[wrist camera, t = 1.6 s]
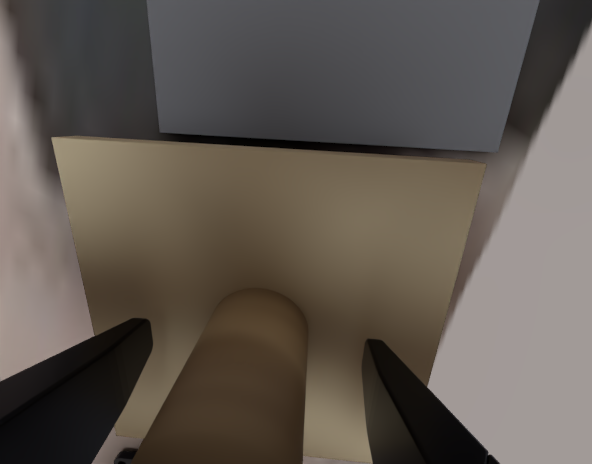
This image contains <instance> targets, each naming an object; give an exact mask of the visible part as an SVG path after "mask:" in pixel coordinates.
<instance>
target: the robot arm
mask: <svg viewBox="0 0 592 464" xmlns="http://www.w3.org/2000/svg"><path fill="white" fill-rule="evenodd" d="M152 349H153V337H152V330H151V323H150V321H149V320H148V319H146V318H131V319H129V320H127V321H125V322H123V323H121V324H119V325H117V326H115V327H113V328H111V329H108V330H106V331H104V332H102V333H100V334H98V335H96V336H94V337H92V338H90V339H88V340H86V341H84V342H81V343H79V344H77V345H75V346H73V347H71V348H69V349H67V350H65V351H63V352H61V353H59V354H57V355H54V356H52V357H50V358H48V359H46V360H44V361H42V362H40V363H38V364H36V365H34V366H32V367H30V368H27V369H25V370H23V371H21V372H19V373H17V374H15V375H13V376H11V377H9V378H7V379H5V380H3V381H0V464H92V462H93V460H94V459H95V457H96V455H97V454H98V452H99V450H100V448H101V447H102V445H103V443H104V442H105V440H106V438H107V437H108V435H109V433H110V432H111V430H112V428H113V427H114V425H115V423H116V422H117V420H118V418H119V417H120V415H121V413H122V411H123V410H124V408H125V406H126V404H127V402H128V400H129V398H130V396H131V394H132V392H133V390H134V388H135V386H136V384H137V382H138V379H139V377H140V375H141V373H142V371H143V369H144V367H145V365H146V363H147V360H148V358H149V356H150V354H151V352H152ZM361 369H362V383H363V395H364V407H365V419H366V428H367V435H368V441H369V447H370V452H371V457H372V462H373V464H500V463H499V462H498V461H497V460H496V459H495V458H494V457H493V456H492V455H488V451H487V450H486V449H485V448H484V447H483V445H482V444H481V443H480V442H479V441H478V440H477V439H476V438H475V437H474V436H473V435H472V434H471V433H470V432H469V431H468V430H467V429H466V428H465V426H463V424H462V423H461V422H460V421H459V420H458V419H457V418H456V417H455V416H454V415H453V414H452V413H451V412H450V411H449V410H448V409H447V408H446V407H445V405H444V404H443V403H442V402H441V401H440V400H439V399H438V398H437V397H436V396H435V395H434V394H433V393H432V392H431V391H430V390H429V389H428V388H427V386H426V385H425V384H424V383H423V382H422V381H421V380H420V379H419V378H418V377H417V376H416V375H415V374H414V373H413V372H412V371H411V370H410V369H409V368H408V366H407V365H406V364H405V363H404V362H403V361H402V360H401V359H400V358H399V357H398V356H397V355H396V354H395V353H394V352H393V351H392V350H391V349H390V348H389V346H388V345H387V344H386V343H385V342H384V341H383V340H380V339H370V338H368V339H367V340H366V341H365V346H364V352H363V358H362V367H361ZM135 454H136V452H127V451H122V452H120V453H119V454H118V455H117V457H116V459H115V460H114V464H131V462H132V460H133V458H134V456H135Z"/></svg>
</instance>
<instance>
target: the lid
mask: <svg viewBox="0 0 592 464" xmlns="http://www.w3.org/2000/svg"><path fill="white" fill-rule="evenodd" d="M51 138H52V143H53V147H54V152H55V156H56V161H57V166H58V170H59V175H60V179H61V184H62V188H63V193H64V198H65V202H66V207H67V211H68V216H69V220H70V225H71V230H72V234H73V239H74V243H75V248H76V253H77V257H78V262H79V266H80V271H81V275H82V280H83V285H84V289H85V294H86V298H87V303H88V307H89V312H90V317H91V321H92V326H93V330H94V335H95V336H96V335H98V334H100V333H102V332H104V331H106V330H108V329H111V328H113V327H115V326H117V325H119V324H121V323H123V322H125V321H127V320H129V319H131V318H146V319H148V320H149V321H150V323H151V330H152V337H153V349H152V352H151V354H150V356H149V358H148V360H147V363H146V365H145V367H144V369H143V371H142V373H141V375H140V377H139V379H138V382H137V384H136V386H135V388H134V390H133V392H132V394H131V396H130V398H129V400H128V402H127V404H126V406H125V408H124V410H123V411H122V413H121V415H120V417H119V418H118V420H117V422H116V423H115V425H114V427H115V431H116V436H123V437H133V438H142V439H144V440H143V441H142V443H141V445H140V447H139V449H138V451H137V452H136V454H135V456H134V458H133V460H132V462H131V464H303V456H309V457H318V458H327V459H336V460H346V461H355V462H364V463H373V462H372V457H371V452H370V447H369V441H368V435H367V428H366V419H365V407H364V395H363V383H362V369H361V367H362V358H363V352H364V346H365V341H366V340H367V339H368V338H370V339H380V340H383V341H384V342H385V343H386V344H387V345H388V346H389V348H390V349H391V350H392V351H393V352H394V353H395V354H396V355H397V356H398V357H399V358H400V359H401V360H402V361H403V362H404V363H405V364H406V365H407V366H408V368H409V369H410V370H411V371H412V372H413V373H414V374H415V375H416V376H417V377H418V378H419V379H420V380H421V381H422V382H423V383H424V384H425V385H426V386H427V385H428V382H429V378H430V375H431V371H432V367H433V363H434V360H435V356H436V352H437V348H438V345H439V341H440V337H441V334H442V330H443V326H444V322H445V319H446V315H447V311H448V307H449V304H450V300H451V296H452V292H453V289H454V285H455V281H456V278H457V274H458V270H459V266H460V263H461V259H462V255H463V251H464V248H465V244H466V240H467V236H468V233H469V229H470V225H471V222H472V218H473V214H474V210H475V207H476V203H477V199H478V195H479V192H480V188H481V184H482V180H483V177H484V173H485V169H486V166H487V164H485V163H481V162H477V161H473V160H466V159H450V158H433V157H417V156H400V155H384V154H367V153H351V152H334V151H318V150H301V149H285V148H268V147H252V146H235V145H219V144H202V143H186V142H169V141H153V140H136V139H120V138H103V137H87V136H67V137H51Z"/></svg>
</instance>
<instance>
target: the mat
mask: <svg viewBox="0 0 592 464" xmlns="http://www.w3.org/2000/svg"><path fill="white" fill-rule="evenodd" d="M539 1H540V0H147V9H148V19H149V29H150V39H151V49H152V60H153V70H154V80H155V90H156V100H157V110H158V120H159V130H160V133H177V134H194V135H211V136H228V137H245V138H261V139H278V140H295V141H312V142H329V143H346V144H363V145H379V146H396V147H413V148H430V149H447V150H464V151H481V152H497V153H498V149H499V145H500V142H501V138H502V135H503V131H504V127H505V124H506V120H507V117H508V113H509V109H510V106H511V102H512V98H513V95H514V91H515V88H516V84H517V80H518V77H519V73H520V69H521V66H522V62H523V59H524V55H525V51H526V48H527V44H528V41H529V37H530V33H531V30H532V26H533V22H534V19H535V15H536V12H537V8H538V4H539Z"/></svg>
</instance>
